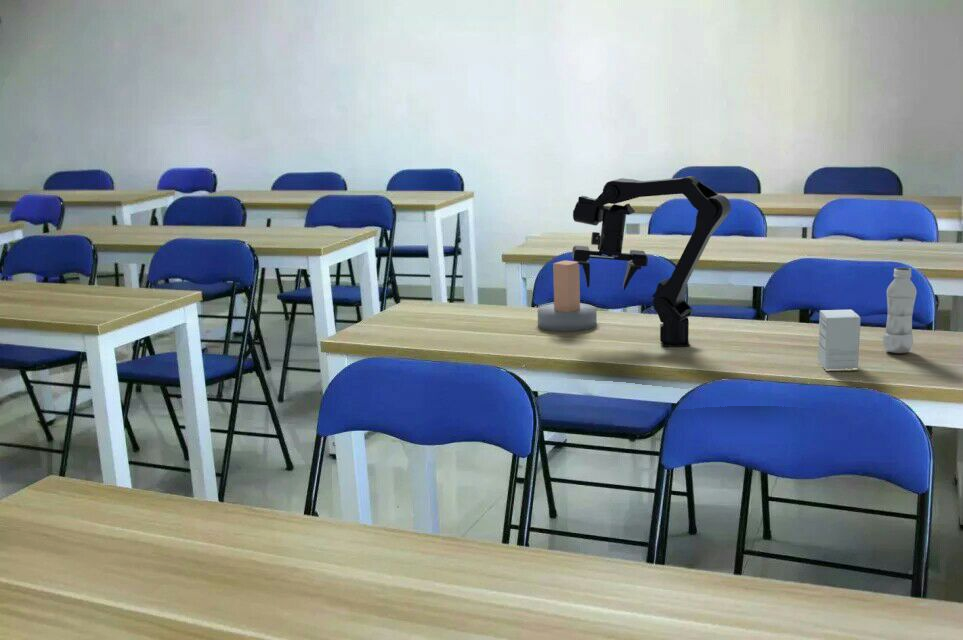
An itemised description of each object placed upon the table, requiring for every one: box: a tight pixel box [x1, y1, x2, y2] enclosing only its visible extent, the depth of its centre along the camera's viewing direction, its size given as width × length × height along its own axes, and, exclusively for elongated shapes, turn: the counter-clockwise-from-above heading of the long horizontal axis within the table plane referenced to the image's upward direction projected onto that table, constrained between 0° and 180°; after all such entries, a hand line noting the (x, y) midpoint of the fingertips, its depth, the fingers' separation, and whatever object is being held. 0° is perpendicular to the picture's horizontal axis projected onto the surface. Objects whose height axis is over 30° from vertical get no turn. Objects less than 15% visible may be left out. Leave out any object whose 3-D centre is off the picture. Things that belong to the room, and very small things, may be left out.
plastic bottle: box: [882, 267, 918, 354], centre depth 233 cm, size 6×7×20 cm
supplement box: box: [817, 309, 862, 369], centre depth 225 cm, size 7×7×13 cm
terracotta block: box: [552, 259, 581, 313], centre depth 271 cm, size 5×5×13 cm
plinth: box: [537, 302, 598, 332], centre depth 273 cm, size 16×16×4 cm
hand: (605, 288), depth 257 cm, fingers open, 9 cm apart
